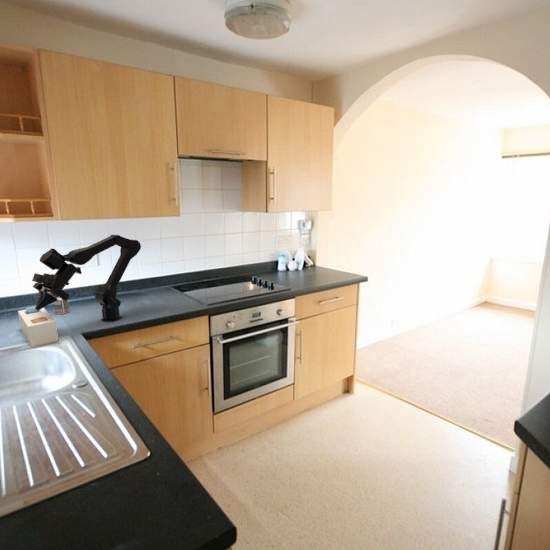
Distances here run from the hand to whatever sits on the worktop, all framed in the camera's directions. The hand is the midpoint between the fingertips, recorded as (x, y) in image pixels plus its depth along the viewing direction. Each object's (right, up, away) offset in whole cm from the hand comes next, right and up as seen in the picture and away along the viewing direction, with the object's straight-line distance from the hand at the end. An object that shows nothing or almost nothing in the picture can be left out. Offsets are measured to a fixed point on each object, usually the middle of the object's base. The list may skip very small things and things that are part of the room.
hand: (36, 309), depth 143 cm
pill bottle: (-11, -5, +36) cm, 38 cm away
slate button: (-9, -3, +12) cm, 15 cm away
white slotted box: (-4, -11, +8) cm, 14 cm away
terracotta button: (+1, -6, +1) cm, 6 cm away
